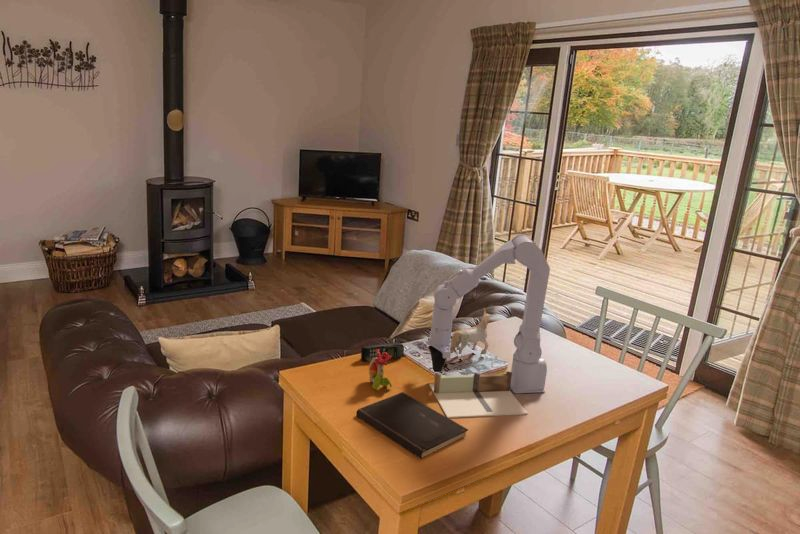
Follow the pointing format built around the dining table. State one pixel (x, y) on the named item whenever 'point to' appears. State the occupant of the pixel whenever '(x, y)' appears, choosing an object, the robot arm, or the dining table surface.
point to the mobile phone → (382, 350)
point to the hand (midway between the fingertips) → (437, 371)
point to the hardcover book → (411, 424)
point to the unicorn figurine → (471, 336)
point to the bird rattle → (379, 370)
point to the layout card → (478, 403)
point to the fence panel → (453, 383)
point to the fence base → (492, 382)
